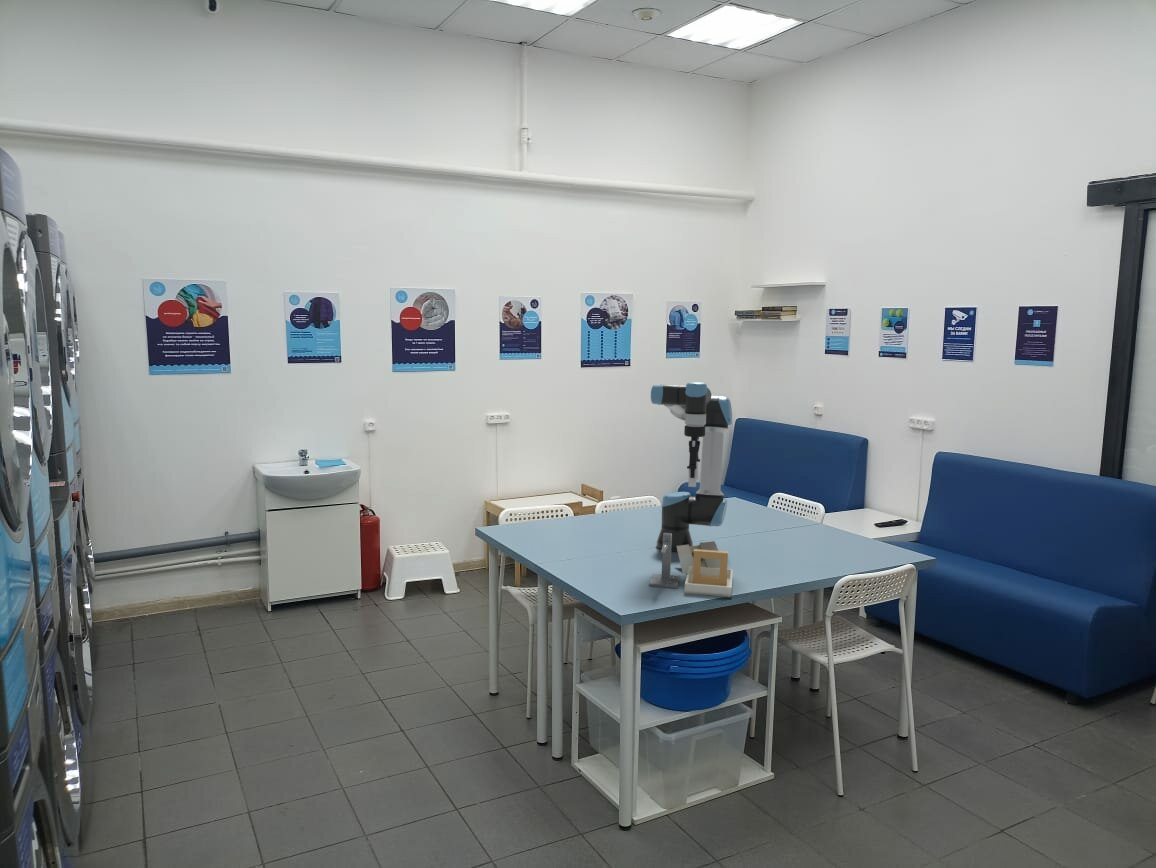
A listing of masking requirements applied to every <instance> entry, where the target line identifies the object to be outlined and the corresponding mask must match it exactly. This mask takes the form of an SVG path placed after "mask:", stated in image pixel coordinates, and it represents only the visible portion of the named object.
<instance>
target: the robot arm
mask: <svg viewBox="0 0 1156 868" xmlns="http://www.w3.org/2000/svg"><path fill="white" fill-rule="evenodd" d="M650 402H651V404H653V405H658V406H660V405H661V406H662V405H663V406H664V407H666V409H668V410H669V411H670V414H672V415H673V416H674V417H676V418H677V419H679V420H681V421H683V422H684V424H685V425H684V430H683V431H684V434H683V435H684V436H685V437H688V438H690V439H689V440H688V453H689V461H688V462H689V463H688V466H686V469H687V470H688V480H687V481H688V482H687V483H688V485H687V486H688V488H689V487H690V488H697V480H698V478H700V479H699V480H700V481H699V489H698V490H697V491H696V492H695V496H691V493H690V491H689V492H688V491H675V492H674V491H673V492H670V493H667V494H664V495H663V496H662V503H661V529H660V532H659V534H658V537H657V540H656V548H658V549H660V550H662V546H663V533H672V545H671V552H678V551H677V547H676V546H679V545H688V544H689V546H694V544H693V538H692V535H691V532H690V525H692V526H693V525H695V526H705V527H709V528H710V527H721V526H722V525H723V523H724V521H725V517H726V513H727V507H728V500H727V499H726V498H724V497H725V494H724V493H723V492H722V490H721V485H722V469H723V468H722V467H723V452H724V439H725V438H724V436H725V435H724V434H725V432H727V431H728V430H729V426H731V425H732V424H733V412H732V402H731V400H730V398H729V397H727V396H720V395H712V391H711V389H710V388H709V387H708V385H707V383H706V382H702V381H699V382H698V381H695V382H693V381H692V382H687V383H686V384H685V385H682V384H681V385H679V384H678V385H675V384H673V385H671V384H653V385H652V386H651V390H650ZM700 438H702V442H701V440H700ZM701 444H702V445H701ZM700 446H701V459H700V458H699V450H700ZM700 462H701V463H700ZM699 463H700V476H699V475H698V473H699Z"/></svg>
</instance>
